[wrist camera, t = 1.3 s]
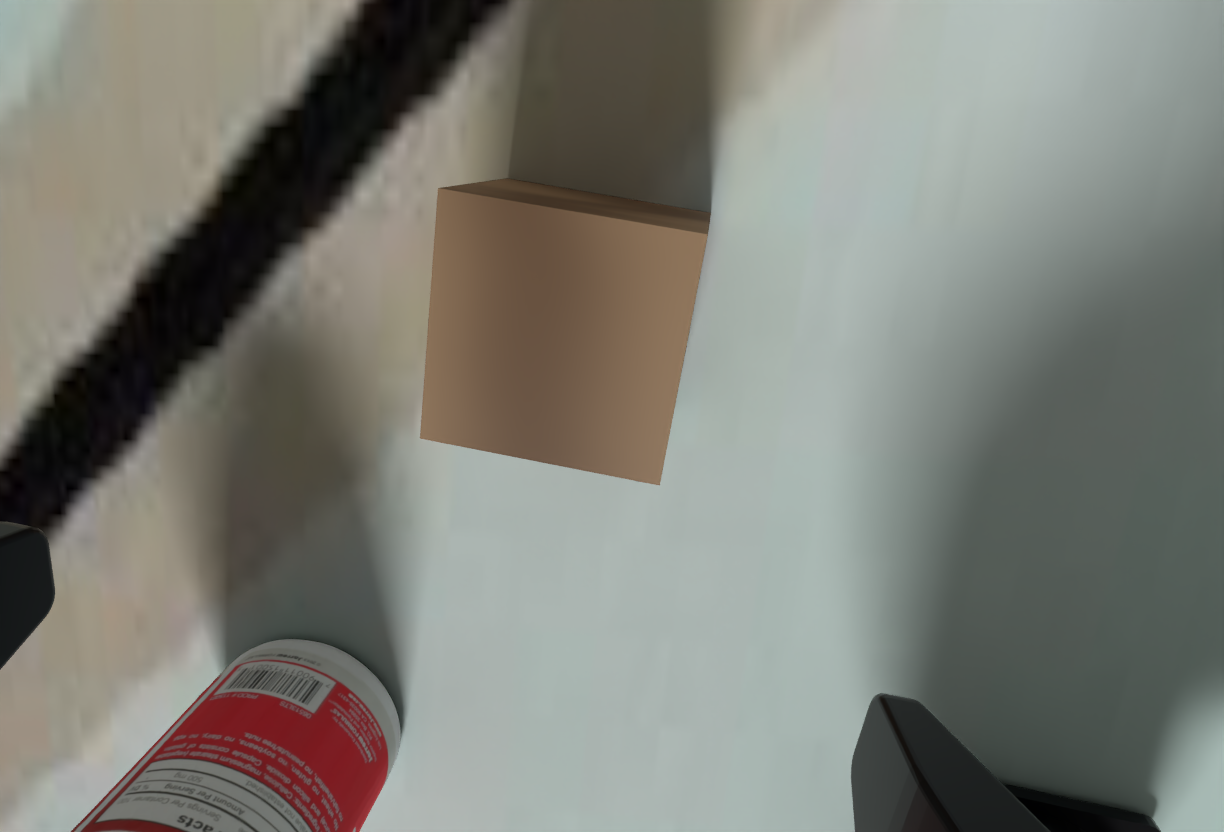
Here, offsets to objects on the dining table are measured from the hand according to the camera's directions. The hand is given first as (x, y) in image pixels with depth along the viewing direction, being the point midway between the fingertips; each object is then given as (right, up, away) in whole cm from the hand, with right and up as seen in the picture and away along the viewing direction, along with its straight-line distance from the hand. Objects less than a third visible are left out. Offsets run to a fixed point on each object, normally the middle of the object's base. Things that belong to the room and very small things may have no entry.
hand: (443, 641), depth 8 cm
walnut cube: (+1, +5, +11) cm, 13 cm away
